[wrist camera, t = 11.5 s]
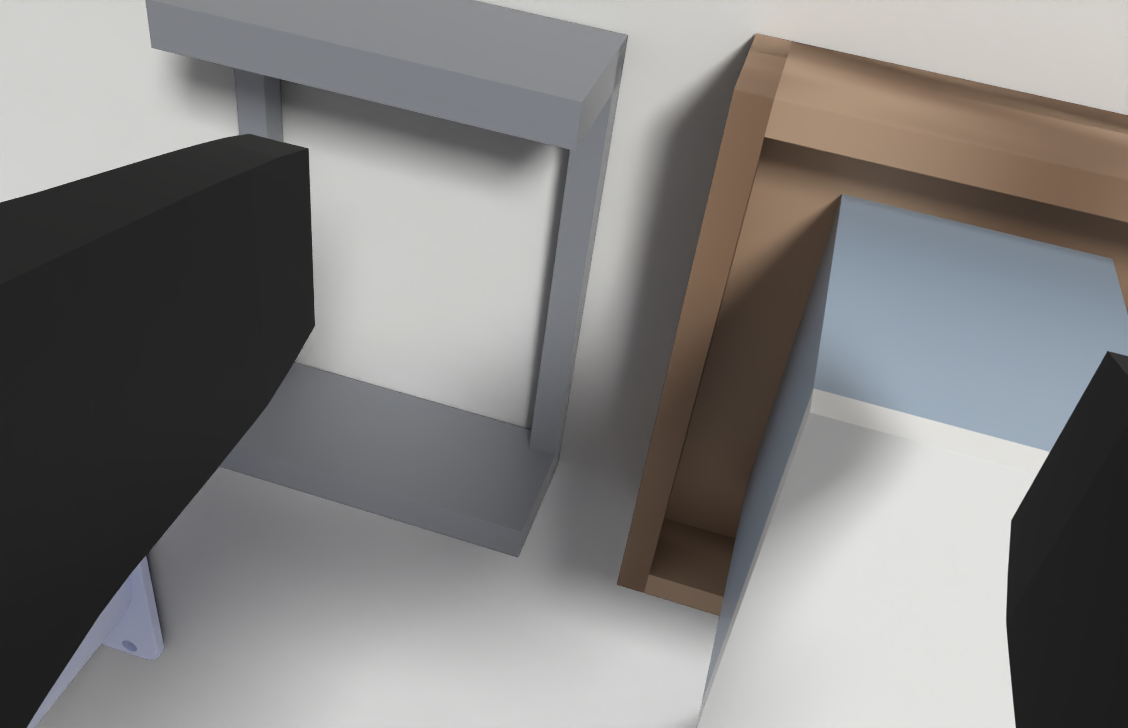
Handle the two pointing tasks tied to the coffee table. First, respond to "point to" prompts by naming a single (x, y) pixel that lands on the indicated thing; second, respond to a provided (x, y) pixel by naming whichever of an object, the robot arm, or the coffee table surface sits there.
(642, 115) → the coffee table surface
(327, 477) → the bay
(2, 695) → the robot arm
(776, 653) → the light grey block
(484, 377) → the coffee table surface
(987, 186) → the tray
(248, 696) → the coffee table surface
